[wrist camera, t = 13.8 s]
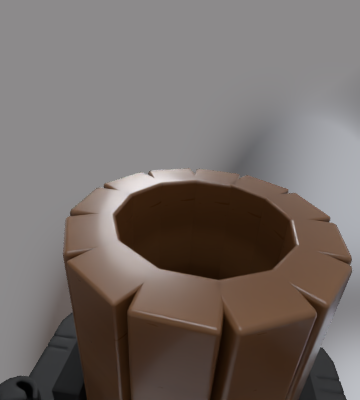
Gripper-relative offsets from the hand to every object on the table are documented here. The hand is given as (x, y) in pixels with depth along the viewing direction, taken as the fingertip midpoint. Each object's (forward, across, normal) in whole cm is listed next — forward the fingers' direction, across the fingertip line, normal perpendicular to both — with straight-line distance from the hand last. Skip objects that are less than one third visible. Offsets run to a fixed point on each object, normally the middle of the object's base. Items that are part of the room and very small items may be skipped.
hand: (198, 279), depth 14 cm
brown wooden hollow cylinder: (-5, 0, -8) cm, 9 cm away
